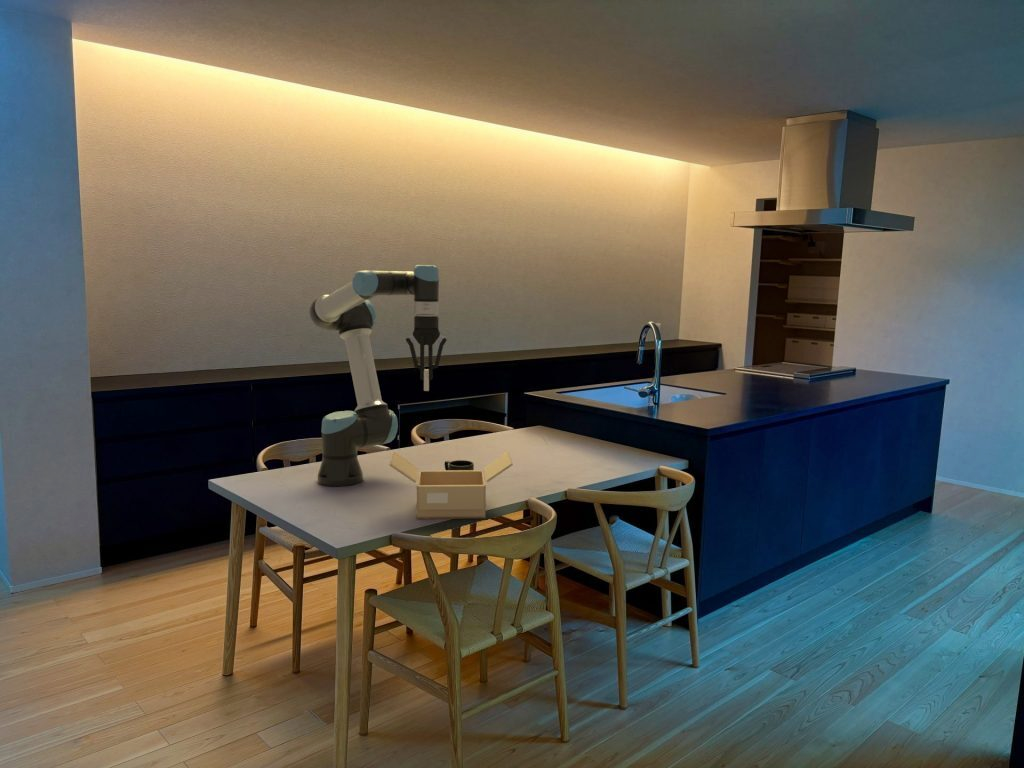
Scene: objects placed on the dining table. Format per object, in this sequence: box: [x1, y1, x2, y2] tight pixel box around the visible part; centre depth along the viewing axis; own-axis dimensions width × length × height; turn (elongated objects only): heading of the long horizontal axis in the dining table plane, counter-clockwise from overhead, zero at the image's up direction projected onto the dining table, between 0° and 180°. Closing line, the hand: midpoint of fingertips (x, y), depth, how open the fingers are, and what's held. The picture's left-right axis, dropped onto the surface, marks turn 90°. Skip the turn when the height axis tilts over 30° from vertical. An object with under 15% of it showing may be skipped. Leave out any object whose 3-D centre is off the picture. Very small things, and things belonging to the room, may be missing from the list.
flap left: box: [389, 451, 419, 483], centre depth 219 cm, size 1×15×9 cm
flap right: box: [483, 451, 513, 483], centre depth 222 cm, size 1×15×9 cm
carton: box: [416, 469, 487, 520], centre depth 222 cm, size 20×18×10 cm
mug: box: [443, 459, 475, 470], centre depth 243 cm, size 8×12×10 cm
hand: (426, 390), depth 231 cm, fingers closed
